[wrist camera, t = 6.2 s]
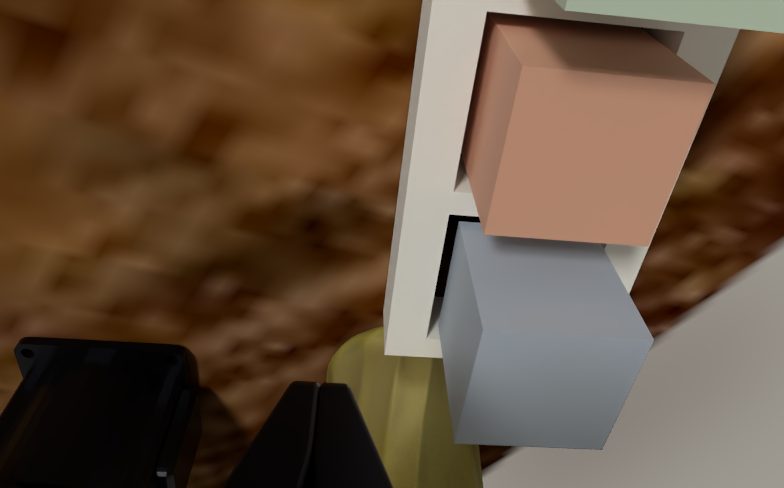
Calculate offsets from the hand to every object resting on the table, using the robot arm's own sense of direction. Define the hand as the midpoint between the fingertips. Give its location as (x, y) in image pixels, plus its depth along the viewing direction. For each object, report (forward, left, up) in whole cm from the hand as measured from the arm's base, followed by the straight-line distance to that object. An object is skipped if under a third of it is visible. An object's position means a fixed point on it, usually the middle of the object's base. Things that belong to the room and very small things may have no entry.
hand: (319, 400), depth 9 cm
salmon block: (+6, +1, -12) cm, 13 cm away
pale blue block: (+6, -5, -10) cm, 13 cm away
